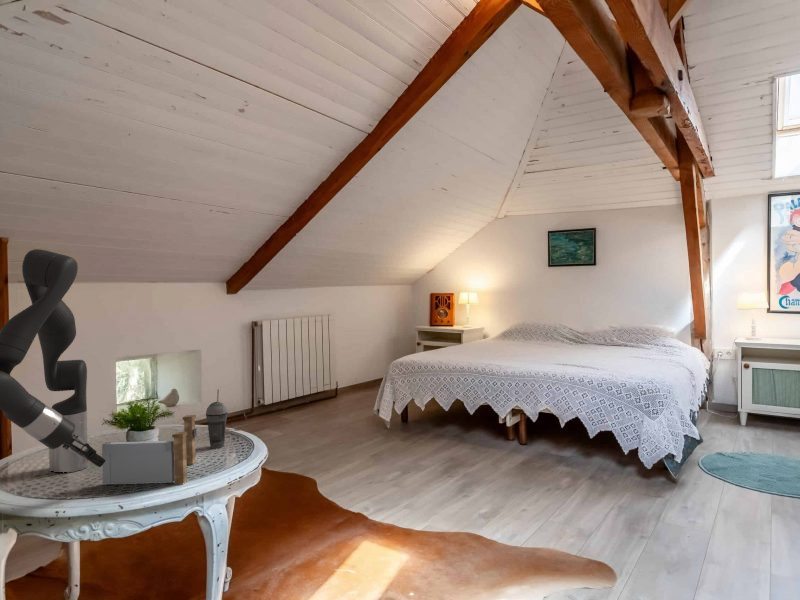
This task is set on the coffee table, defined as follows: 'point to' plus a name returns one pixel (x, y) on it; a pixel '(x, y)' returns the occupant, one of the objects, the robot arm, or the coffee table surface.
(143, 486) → the coffee table surface
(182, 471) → the hinge post
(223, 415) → the beverage cup
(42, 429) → the robot arm
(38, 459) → the coffee table surface
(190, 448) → the post
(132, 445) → the gate
